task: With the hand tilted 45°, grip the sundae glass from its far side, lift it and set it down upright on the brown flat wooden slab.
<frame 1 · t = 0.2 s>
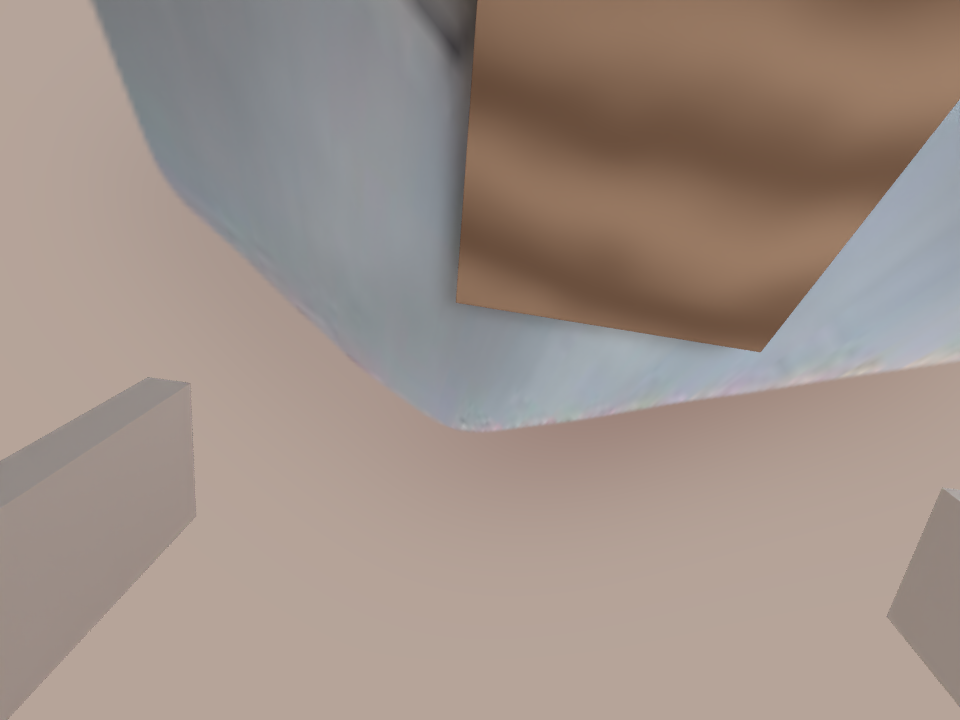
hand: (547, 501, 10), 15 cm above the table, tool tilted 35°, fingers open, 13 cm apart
brown flat wooden slab: (684, 95, 20), on the table
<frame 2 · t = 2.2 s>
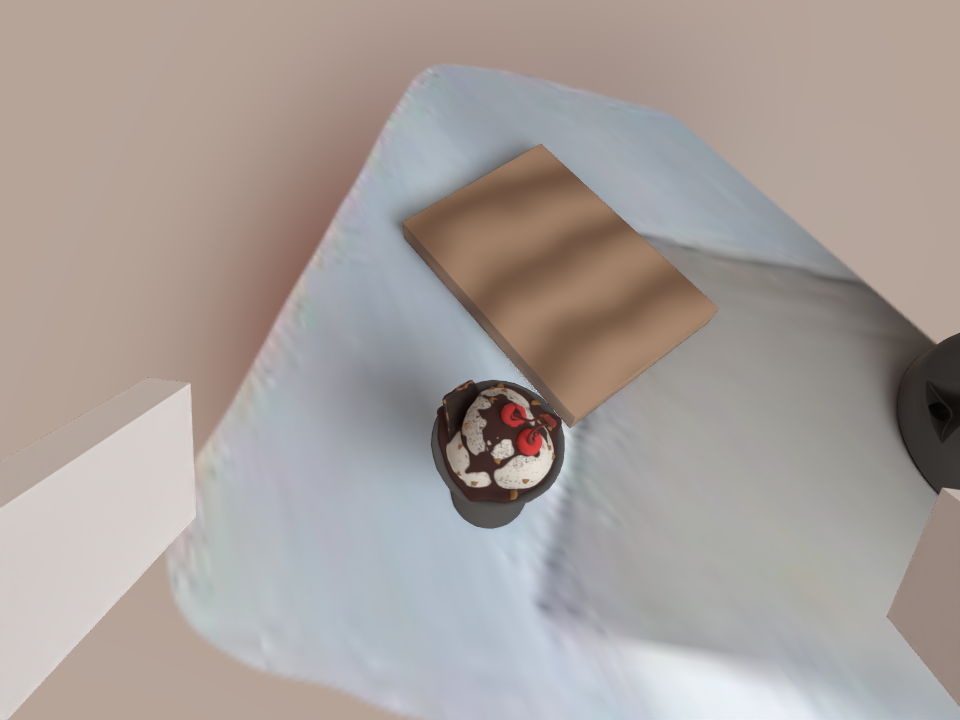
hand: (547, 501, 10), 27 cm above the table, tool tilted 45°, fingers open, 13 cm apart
sundae: (489, 490, 38), on the table
brown flat wooden slab: (552, 279, 45), on the table
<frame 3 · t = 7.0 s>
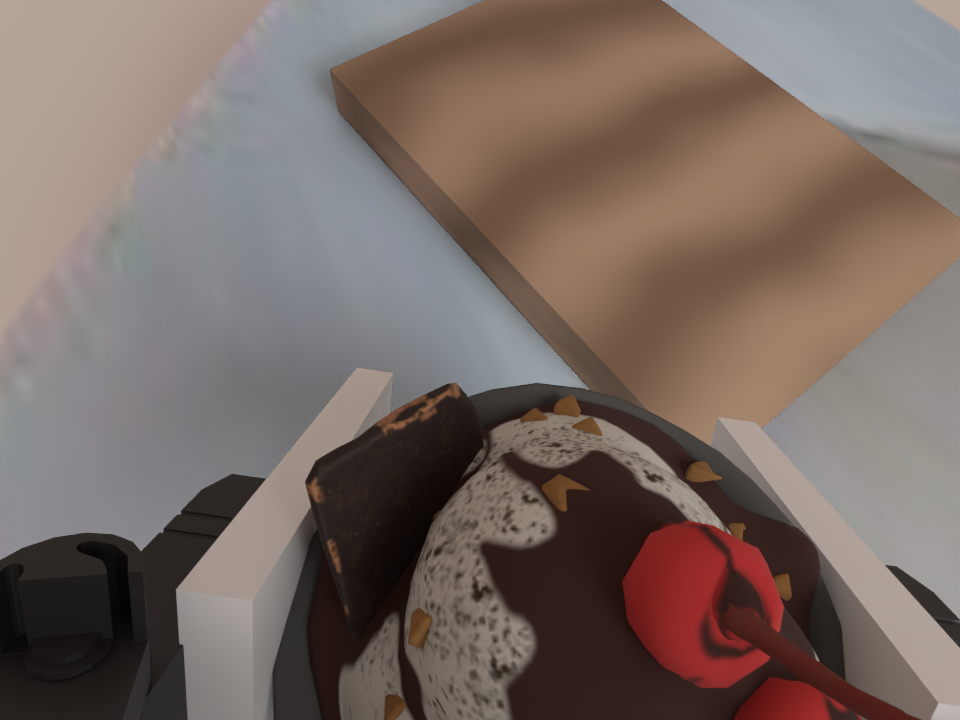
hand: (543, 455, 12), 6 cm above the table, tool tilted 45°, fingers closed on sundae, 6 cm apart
sundae: (503, 646, 16), on the table, touching gripper
brown flat wooden slab: (623, 186, 23), on the table
when the fingers open (9 cm above the table, at t = 12.5 s): sundae drops 1 cm, resting on brown flat wooden slab.
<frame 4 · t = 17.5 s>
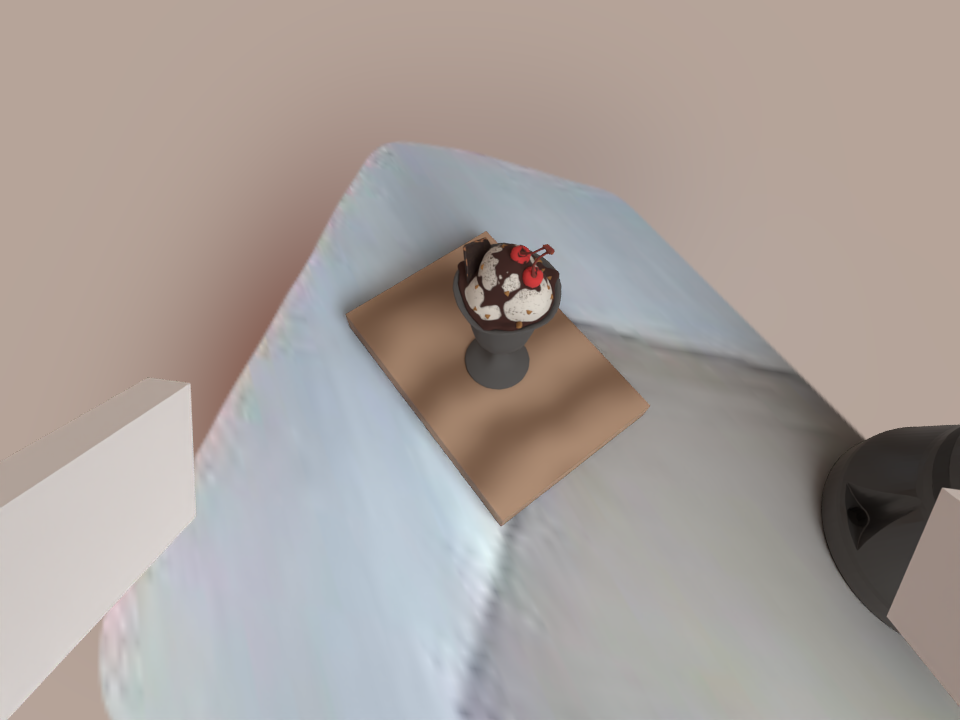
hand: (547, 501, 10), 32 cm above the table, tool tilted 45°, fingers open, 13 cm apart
sundae: (497, 361, 45), point 2 cm above the table, touching brown flat wooden slab
brown flat wooden slab: (492, 369, 47), on the table
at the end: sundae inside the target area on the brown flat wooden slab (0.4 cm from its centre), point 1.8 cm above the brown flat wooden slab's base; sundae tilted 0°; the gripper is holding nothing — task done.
